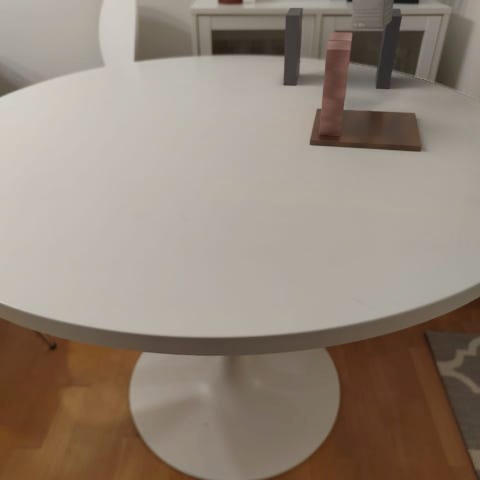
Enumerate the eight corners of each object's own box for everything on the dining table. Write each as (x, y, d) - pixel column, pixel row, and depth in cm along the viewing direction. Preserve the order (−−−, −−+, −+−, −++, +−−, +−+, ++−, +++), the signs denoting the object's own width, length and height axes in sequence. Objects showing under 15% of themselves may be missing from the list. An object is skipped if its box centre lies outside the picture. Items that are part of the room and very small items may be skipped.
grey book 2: (387, 78, 113) (400, 8, 103) (388, 89, 107) (402, 16, 97) (375, 77, 114) (386, 8, 104) (375, 88, 108) (387, 16, 98)
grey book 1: (299, 75, 117) (302, 7, 107) (295, 85, 111) (299, 15, 101) (287, 74, 117) (290, 7, 108) (283, 85, 112) (285, 15, 102)
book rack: (414, 117, 94) (433, 30, 84) (420, 151, 82) (444, 55, 72) (316, 112, 98) (323, 29, 87) (309, 144, 86) (316, 52, 75)
